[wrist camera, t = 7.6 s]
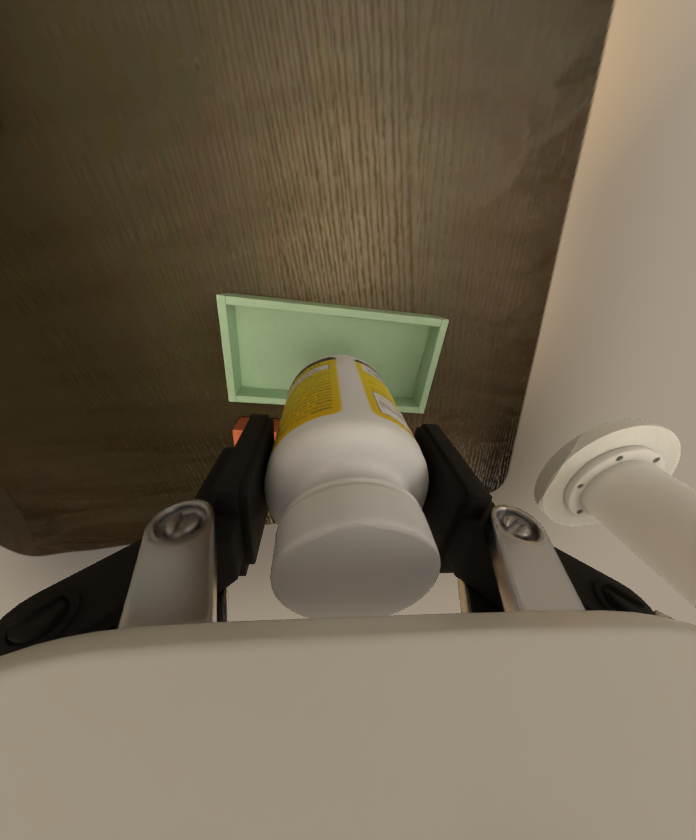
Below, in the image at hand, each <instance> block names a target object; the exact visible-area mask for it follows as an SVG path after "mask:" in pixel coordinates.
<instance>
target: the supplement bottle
mask: <svg viewBox="0 0 696 840" xmlns="http://www.w3.org/2000/svg"><path fill="white" fill-rule="evenodd" d="M428 485H429V474H428V468H427V464H426V461H425V459H424V456H423V454H422V452H421V449H420V447H419V445H418V443H417V441H416V440H415V438H414V436H413V434H412V432H411V431H410V429H409V427H408V425H407V423H406V421H405V420H404V418H403V416H402V414H401V413H400V411H399V409H398V407H397V405H396V403H395V402H394V400H393V398H392V396H391V394H390V392H389V390H388V389H387V387H386V385H385V383H384V381H383V380H382V378H381V377H380V375H379V374H378V373H377V372H376V370H375V369H374V368H372V367H371V366H370V365H369V364H368V363H366V362H364V361H362V360H360V359H358V358H356V357H352V356H348V355H329V356H324V357H321V358H318V359H316V360H314V361H312V362H310V363H309V364H307V365H306V366H305V367H304V368H303V369H302V370H301V371H300V372H299V373H298V374H297V376H296V377H295V378H294V380H293V382H292V384H291V386H290V389H289V392H288V395H287V399H286V403H285V407H284V410H283V414H282V417H281V420H280V424H279V427H278V430H277V434H276V437H275V441H274V444H273V448H272V451H271V454H270V457H269V461H268V464H267V469H266V474H265V481H264V491H265V499H266V503H267V506H268V509H269V512H270V514H271V516H272V517H273V519H274V520H275V522H276V523H277V524H278V528H277V532H276V539H275V547H274V554H273V561H272V567H271V575H270V578H271V585H272V589H273V592H274V594H275V596H276V597H277V598H278V600H279V601H280V602H281V603H282V604H283V605H284V606H285V607H287V608H288V609H290V610H291V611H293V612H295V613H297V614H299V615H302V616H304V617H308V618H336V617H365V616H388V615H391V614H394V613H396V612H399V611H401V610H403V609H405V608H407V607H409V606H411V605H412V604H414V603H415V602H417V601H418V600H419V599H421V598H422V597H423V596H424V595H425V594H426V593H427V592H428V591H429V590H430V589H431V588H432V587H433V585H434V583H435V582H436V580H437V578H438V575H439V573H440V567H441V562H440V555H439V552H438V549H437V546H436V543H435V541H434V538H433V536H432V533H431V530H430V528H429V525H428V523H427V520H426V518H425V515H424V513H423V512H422V507H423V505H424V503H425V500H426V496H427V492H428Z"/></svg>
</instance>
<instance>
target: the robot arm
mask: <svg viewBox="0 0 696 840" xmlns="http://www.w3.org/2000/svg"><path fill="white" fill-rule="evenodd" d="M414 438H415V440H416V441H417V443H418V445H419V447H420V449H421V452H422V454H423V456H424V459H425V461H426V464H427V468H428V474H429V485H428V492H427V496H426V500H425V503H424V505H423V507H422V512H423V513H424V515H425V518H426V520H427V523H428V525H429V528H430V530H431V533H432V536H433V538H434V541H435V543H436V546H437V549H438V552H439V555H440V562H441V567H440V573H454V575H455V576H456V577H458V589H459V598H460V607H461V613H456V614H424V615H396V616H395V615H394V616H365V617H336V618H310V619H287V620H286V619H285V620H260V621H236V622H235V621H234V622H229V607H228V606H229V605H228V604H229V603H228V586H229V585H230V584H231V583H233V582H234V581H235V580H237V579H238V576H246V574H247V570H248V566H249V564H255V562H256V558H257V554H258V550H259V546H260V542H261V538H262V534H263V529H264V525H265V521H266V517H267V513H268V506H267V503H266V499H265V491H264V481H265V474H266V469H267V464H268V461H269V457H270V454H271V451H272V448H273V444H274V420H273V419H269V418H268V415H261V414H252V415H251V416H250V418H249V420H248V422H247V424H246V426H245V428H244V430H243V432H242V433H241V435H240V437H239V439H238V441H237V443H236V445H235V447H226V448H224V449H223V451H222V452H221V454H220V456H219V457H218V459H217V461H216V463H215V464H214V466H213V468H212V469H211V471H210V473H209V475H208V476H207V478H206V480H205V481H204V483H203V485H202V487H201V488H200V490H199V492H198V493H197V495H196V497H195V498H194V499H186V500H181V501H178V502H174V503H172V504H170V505H168V506H166V507H164V508H163V509H161V510H160V511H158V512H157V513H156V514H155V515H154V516H153V517H152V518H151V519H150V520H149V522H148V524H147V526H146V528H145V532H144V535H143V539H141V540H139V541H137V542H135V543H133V544H131V545H129V546H127V547H126V548H124V549H122V550H120V551H118V552H116V553H114V554H112V555H110V556H108V557H106V558H104V559H102V560H100V561H98V562H96V563H95V564H93V565H91V566H89V567H87V568H85V569H83V570H81V571H79V572H77V573H75V574H73V575H71V576H70V577H67V578H66V579H64V580H62V581H60V582H58V583H56V584H54V585H52V586H50V587H48V588H46V589H44V590H42V591H40V592H38V593H37V594H35V595H33V596H32V597H30V598H28V599H27V600H25V601H24V602H22V603H20V604H19V605H18V606H16V607H15V608H14V609H12V610H11V611H10V612H8V613H7V614H6V615H5V616H4V617H3V618H2V619H1V620H0V840H696V625H693V624H689V623H685V622H681V621H677V620H674V619H672V618H671V617H669V616H667V615H665V614H663V613H661V612H659V611H657V610H655V611H654V612H653V611H652V609H651V608H650V607H649V606H648V605H647V604H646V603H645V602H644V601H643V600H642V599H641V598H640V597H639V596H638V595H637V594H635V593H634V592H633V591H632V590H630V589H629V588H627V587H626V586H624V585H622V584H621V583H619V582H618V581H616V580H614V579H612V578H610V577H608V576H607V575H604V574H603V573H601V572H599V571H597V570H595V569H594V568H592V567H590V566H588V565H586V564H584V563H583V562H581V561H579V560H577V559H575V558H573V557H572V556H570V555H568V554H566V553H564V552H562V551H561V550H559V549H557V548H555V547H553V545H552V543H551V541H550V539H549V537H548V535H547V533H546V531H545V530H544V528H543V527H542V525H541V524H540V523H539V522H538V521H537V520H536V519H535V518H534V517H532V516H531V515H529V514H528V513H526V512H524V511H522V510H521V509H519V508H516V507H513V506H508V505H497V506H495V505H494V503H493V502H492V501H491V499H492V496H491V495H490V493H489V492H488V491H487V489H486V488H485V487H484V485H483V484H482V483H481V481H480V480H479V479H478V477H477V476H476V475H475V473H474V472H473V471H472V470H471V468H470V467H469V466H468V464H467V463H466V462H465V460H464V459H463V458H462V456H461V455H460V454H459V452H458V451H457V450H456V448H455V447H454V446H453V444H452V443H451V442H450V440H449V439H448V438H447V436H446V435H445V434H444V432H443V431H442V430H441V428H440V427H439V426H438V425H436V424H422V425H421V427H417V429H416V431H415V435H414ZM664 471H665V461H664V458H663V456H661V455H660V454H659V453H658V452H656V451H654V450H652V449H650V448H648V447H645V446H635V445H634V446H625V447H621V448H617V449H614V450H611V451H609V452H606V453H604V454H602V455H600V456H598V457H596V458H595V459H593V460H592V461H590V462H588V463H587V464H586V465H585V466H583V467H582V468H581V469H580V470H579V471H578V472H577V473H576V474H575V475H574V476H573V477H572V479H571V480H570V482H569V483H568V485H567V487H566V489H565V493H564V502H565V505H566V507H567V508H568V509H569V510H570V511H571V512H572V513H573V514H575V515H576V516H579V517H581V518H587V519H597V520H598V521H599V522H600V523H602V524H603V525H604V526H605V527H606V528H607V529H608V530H609V531H611V532H612V533H613V534H614V535H615V536H616V537H617V538H618V539H619V540H621V541H622V542H623V543H624V544H625V545H626V546H627V547H628V548H630V549H631V550H632V551H633V552H634V553H635V554H636V555H637V556H638V557H639V558H641V559H642V560H643V561H644V562H645V563H646V564H647V565H648V566H650V567H651V568H652V569H653V570H654V571H655V572H656V573H657V574H658V575H659V576H661V577H662V578H663V579H664V580H665V581H666V582H667V583H668V584H670V585H671V586H672V587H673V588H674V589H675V590H676V591H677V592H679V593H680V594H681V595H682V596H683V597H684V598H685V599H686V600H687V601H688V602H690V603H691V604H692V605H693V606H694V607H695V608H696V490H695V489H694V488H692V487H690V486H689V485H687V484H685V483H683V482H682V481H680V480H678V479H676V478H675V477H673V476H671V475H669V474H668V473H666V472H664Z"/></svg>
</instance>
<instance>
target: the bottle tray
mask: <svg viewBox="0 0 696 840" xmlns="http://www.w3.org/2000/svg"><path fill="white" fill-rule="evenodd" d="M216 298H217V307H218V315H219V323H220V332H221V340H222V348H223V356H224V365H225V373H226V381H227V390H228V398H229V401H231V402H248V403H264V404H280V405H285V403H286V399H287V395H288V392H289V389H290V386H291V384H292V382H293V380H294V378H295V377H296V376H297V374H298V373H299V372H300V371H301V370H302V369H303V368H304V367H305V366H306V365H307V364H309V363H310V362H312V361H314V360H316V359H318V358H321V357H324V356H329V355H348V356H352V357H356V358H358V359H360V360H362V361H364V362H366V363H368V364H369V365H370V366H371V367H372V368H374V369H375V370H376V372H377V373H378V374H379V375H380V377H381V378H382V380H383V381H384V383H385V385H386V387H387V389H388V390H389V392H390V394H391V396H392V398H393V400H394V402H395V403H396V405H397V407H398V409H399V411H400V412H408V413H424V409H425V406H426V402H427V398H428V395H429V391H430V388H431V384H432V380H433V377H434V373H435V369H436V366H437V362H438V358H439V355H440V351H441V348H442V344H443V340H444V337H445V333H446V329H447V326H448V322H449V320H448V319H445V318H442V317H439V316H436V315H427V314H418V313H408V312H399V311H390V310H381V309H372V308H363V307H354V306H345V305H335V304H326V303H317V302H308V301H299V300H290V299H281V298H272V297H262V296H253V295H244V294H235V293H223V294H218V295H216Z"/></svg>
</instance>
